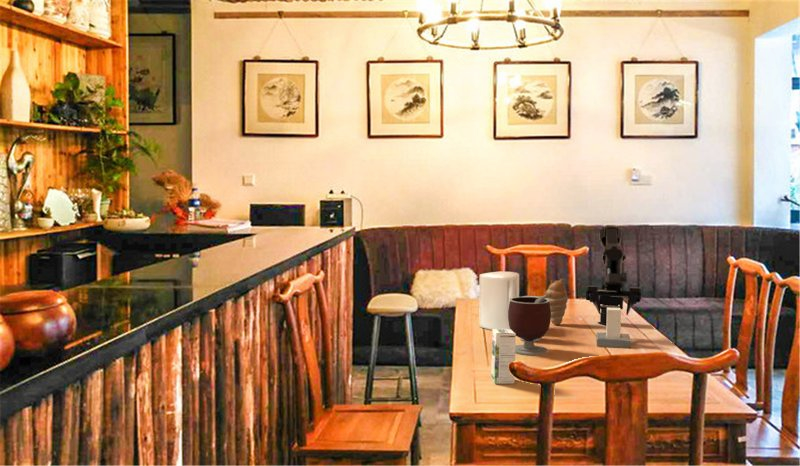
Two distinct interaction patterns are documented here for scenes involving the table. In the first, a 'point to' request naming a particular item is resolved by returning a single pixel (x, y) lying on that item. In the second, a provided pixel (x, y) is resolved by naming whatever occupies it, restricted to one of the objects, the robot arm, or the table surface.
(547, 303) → the mate gourd
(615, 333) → the block
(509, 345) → the syrup box
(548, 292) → the spiral seashell
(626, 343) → the plate
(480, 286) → the paper towel roll
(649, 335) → the table surface
